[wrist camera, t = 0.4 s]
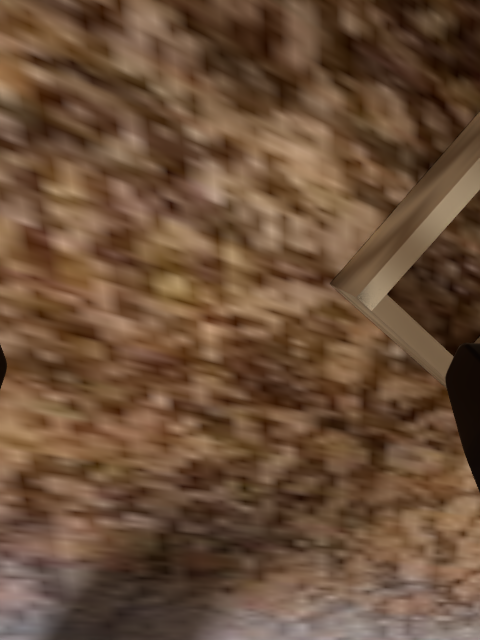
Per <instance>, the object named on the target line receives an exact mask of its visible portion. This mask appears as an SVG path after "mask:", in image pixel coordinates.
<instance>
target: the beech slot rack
mask: <svg viewBox="0 0 480 640" xmlns="http://www.w3.org/2000/svg"><path fill="white" fill-rule="evenodd" d="M479 190H480V112H479V113H478V114H477V115H476V117H475V118H474V119H473V120H472V121H471V122H470V123H469V125H468V126H467V127H466V128H465V129H464V130H463V132H462V133H461V134H460V135H459V136H458V137H457V138H456V140H455V141H454V142H453V143H452V144H451V145H450V147H449V148H448V149H447V150H446V151H445V152H444V153H443V155H442V156H441V157H440V158H439V159H438V160H437V161H436V163H435V164H434V165H433V166H432V167H431V168H430V170H429V171H428V172H427V173H426V174H425V175H424V176H423V178H422V179H421V180H420V181H419V182H418V183H417V184H416V186H415V187H414V188H413V189H412V190H411V191H410V193H409V194H408V195H407V196H406V197H405V198H404V199H403V201H402V202H401V203H400V204H399V205H398V206H397V208H396V209H395V210H394V211H393V212H392V213H391V214H390V216H389V217H388V218H387V219H386V220H385V221H384V222H383V224H382V225H381V226H380V227H379V228H378V229H377V231H376V232H375V233H374V234H373V235H372V236H371V237H370V239H369V240H368V241H367V242H366V243H365V244H364V246H363V247H362V248H361V249H360V250H359V251H358V252H357V254H356V255H355V256H354V257H353V258H352V259H351V260H350V262H349V263H348V264H347V265H346V266H345V267H344V269H343V270H342V271H341V272H340V273H339V274H338V275H337V277H336V278H335V279H334V280H333V281H332V282H331V283H330V285H331V286H333V287H334V288H335V289H336V290H337V291H338V292H339V293H340V294H342V295H343V296H344V297H345V298H346V299H347V300H348V301H349V302H350V303H352V304H353V305H354V306H355V307H356V308H357V309H358V310H359V311H361V312H362V313H363V314H364V315H365V316H366V317H367V318H368V319H369V320H371V321H372V322H373V323H374V324H375V325H376V326H377V327H378V328H380V329H381V330H382V331H383V332H384V333H385V334H386V335H387V336H388V337H390V338H391V339H392V340H393V341H394V342H395V343H396V344H397V345H399V346H400V347H401V348H402V349H403V350H404V351H405V352H406V353H407V354H409V355H410V356H411V357H412V358H413V359H414V360H415V361H416V362H417V363H419V364H420V365H421V366H422V367H423V368H424V369H425V370H426V371H428V372H429V373H430V374H431V375H432V376H433V377H434V378H435V379H436V380H438V381H439V382H440V383H441V384H442V385H443V386H444V387H445V388H447V387H446V382H445V377H446V373H447V370H448V368H449V366H450V364H451V362H452V359H453V356H452V355H451V354H450V353H449V352H448V351H447V350H446V349H445V348H444V347H443V346H442V345H441V344H439V343H438V342H437V341H436V340H435V339H434V338H433V337H432V336H431V335H430V334H429V333H428V332H427V331H426V330H424V329H423V328H422V327H421V326H420V325H419V324H418V323H417V322H416V321H415V320H414V319H413V318H412V317H411V316H409V315H408V314H407V313H406V312H405V311H404V310H403V309H402V308H401V307H400V306H399V305H398V304H397V303H396V302H394V301H393V300H392V299H391V298H390V297H389V296H388V295H387V293H388V292H389V291H390V290H391V289H392V288H393V286H394V285H395V284H396V283H397V282H398V281H399V280H400V279H401V277H402V276H403V275H404V274H405V273H406V272H407V271H408V270H409V268H410V267H411V266H412V265H413V264H414V263H415V262H416V261H417V259H418V258H419V257H420V256H421V255H422V254H423V253H424V252H425V250H426V249H427V248H428V247H429V246H430V245H431V244H432V243H433V242H434V240H435V239H436V238H437V237H438V236H439V235H440V234H441V233H442V231H443V230H444V229H445V228H446V227H447V226H448V225H449V224H450V222H451V221H452V220H453V219H454V218H455V217H456V216H457V215H458V213H459V212H460V211H461V210H462V209H463V208H464V207H465V206H466V204H467V203H468V202H469V201H470V200H471V199H472V198H473V197H474V195H475V194H476V193H477V192H478V191H479ZM474 343H480V337H479V338H478V339H477V340H476V341H475V342H474Z"/></svg>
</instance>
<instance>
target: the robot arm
mask: <svg viewBox="0 0 480 640" xmlns="http://www.w3.org/2000/svg"><path fill="white" fill-rule="evenodd" d="M6 369H7V362H6V358H5V356H4V353H3V350H2V348H1V345H0V389H1V386H2V383H3V380H4V377H5V374H6ZM445 382H446V387H447V391H448V395H449V399H450V402H451V406H452V410H453V413H454V417H455V421H456V424H457V428H458V432H459V436H460V439H461V443H462V446H463V449H464V453H465V455H466V458H467V461H468V464H469V466H470V469H471V471H472V474H473V476H474V479H475V482H476V484H477V487H478V489H479V492H480V343H463V344H461V345H460V346H459V347H458V349H457V351H456V353H455V355H454V357H453V359H452V362H451V364H450V366H449V368H448V370H447V373H446V377H445Z"/></svg>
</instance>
